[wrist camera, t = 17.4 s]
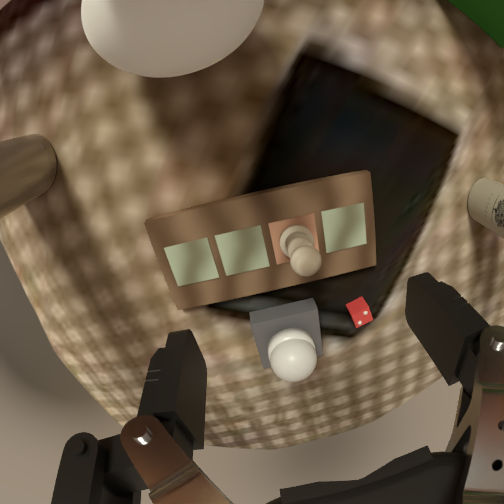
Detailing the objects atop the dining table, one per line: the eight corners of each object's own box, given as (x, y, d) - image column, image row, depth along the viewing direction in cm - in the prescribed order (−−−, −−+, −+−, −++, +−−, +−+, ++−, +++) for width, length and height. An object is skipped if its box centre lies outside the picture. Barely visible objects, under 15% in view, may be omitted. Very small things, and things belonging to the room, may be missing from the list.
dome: (271, 363, 47) (276, 395, 41) (263, 332, 44) (267, 365, 38) (314, 353, 47) (323, 384, 41) (309, 321, 44) (320, 353, 38)
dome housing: (262, 356, 51) (263, 368, 48) (249, 312, 47) (250, 324, 44) (318, 343, 51) (322, 355, 48) (313, 297, 46) (317, 309, 44)
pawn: (282, 258, 41) (292, 289, 34) (276, 228, 39) (286, 254, 32) (314, 250, 41) (330, 280, 34) (309, 220, 39) (326, 245, 32)
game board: (179, 304, 46) (177, 310, 44) (146, 219, 39) (143, 223, 38) (372, 260, 44) (376, 265, 43) (365, 169, 38) (370, 172, 37)
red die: (350, 317, 49) (357, 329, 46) (345, 304, 48) (352, 316, 45) (366, 309, 48) (373, 320, 45) (362, 296, 47) (369, 308, 44)
